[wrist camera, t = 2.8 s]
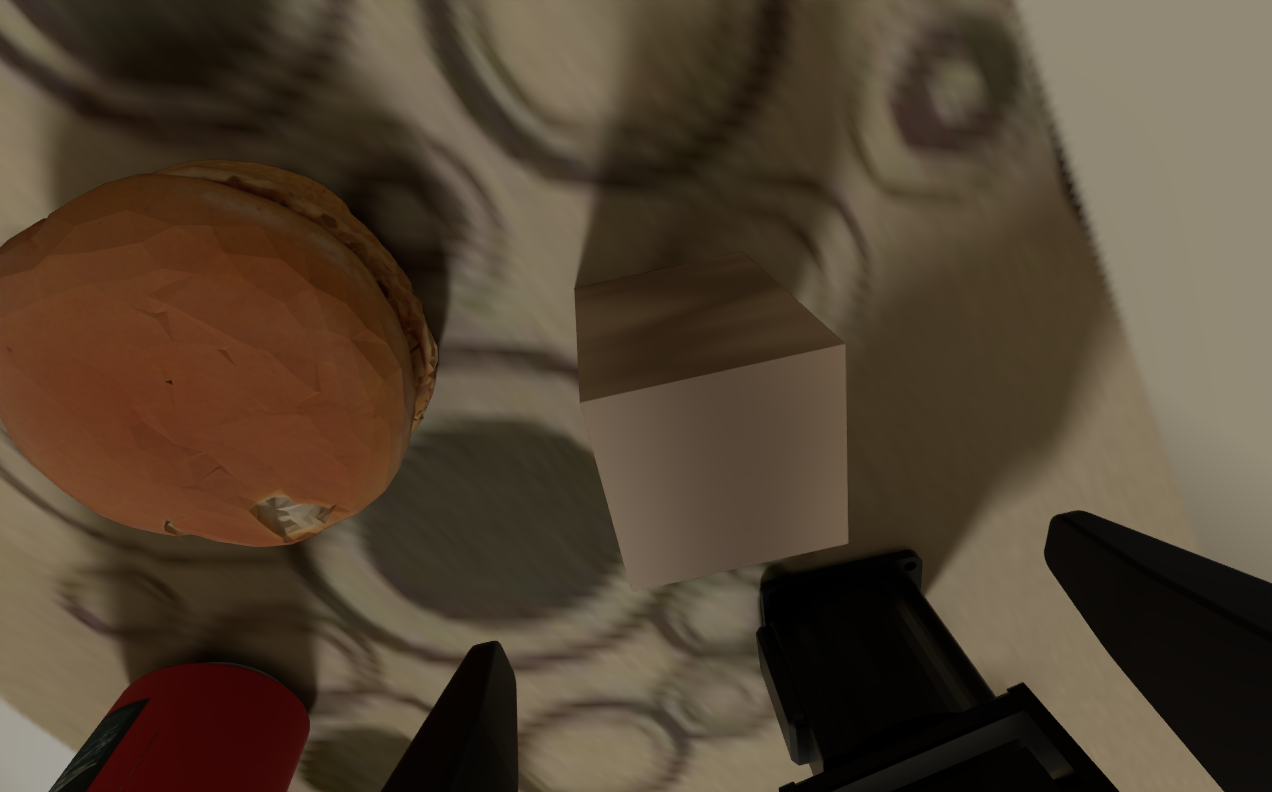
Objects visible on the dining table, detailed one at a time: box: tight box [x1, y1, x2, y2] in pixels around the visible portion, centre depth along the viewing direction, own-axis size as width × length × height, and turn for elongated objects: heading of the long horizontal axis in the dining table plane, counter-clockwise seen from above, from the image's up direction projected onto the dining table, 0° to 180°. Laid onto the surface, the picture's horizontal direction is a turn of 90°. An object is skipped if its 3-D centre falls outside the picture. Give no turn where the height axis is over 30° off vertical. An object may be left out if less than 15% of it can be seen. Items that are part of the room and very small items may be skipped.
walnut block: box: [574, 251, 848, 592], centre depth 15 cm, size 5×5×7 cm
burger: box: [0, 160, 438, 547], centre depth 14 cm, size 10×9×5 cm
